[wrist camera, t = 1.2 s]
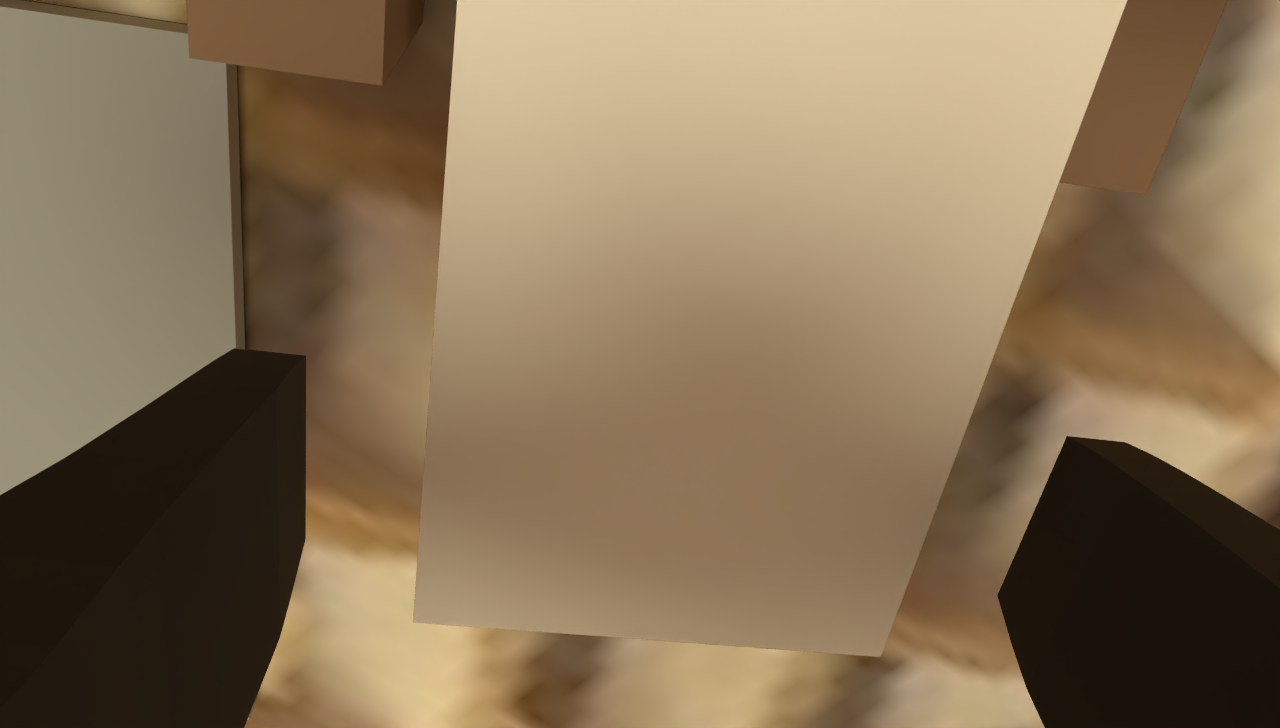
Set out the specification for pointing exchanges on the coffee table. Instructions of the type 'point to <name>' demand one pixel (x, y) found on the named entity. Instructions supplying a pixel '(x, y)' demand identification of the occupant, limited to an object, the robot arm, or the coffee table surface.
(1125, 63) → the walnut rack
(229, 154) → the grey mat
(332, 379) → the coffee table surface
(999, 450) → the coffee table surface
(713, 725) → the coffee table surface
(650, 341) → the off-white block
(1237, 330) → the coffee table surface
